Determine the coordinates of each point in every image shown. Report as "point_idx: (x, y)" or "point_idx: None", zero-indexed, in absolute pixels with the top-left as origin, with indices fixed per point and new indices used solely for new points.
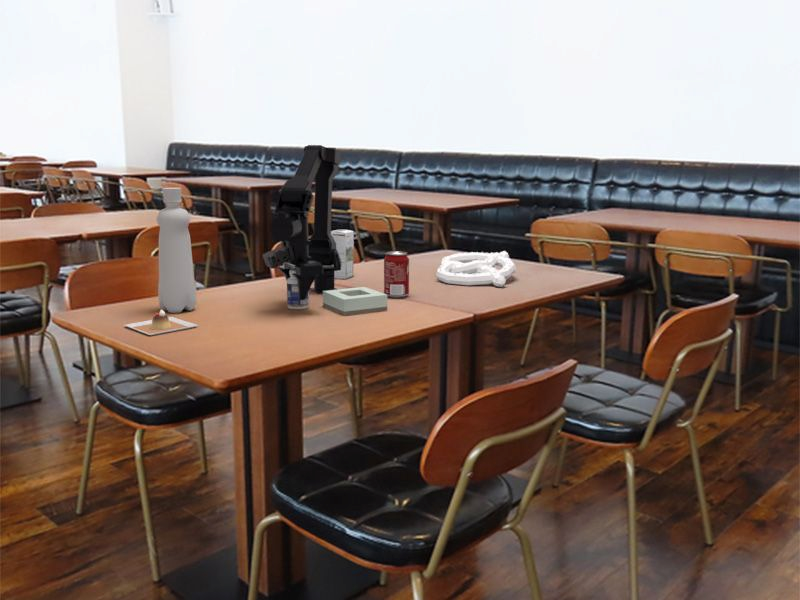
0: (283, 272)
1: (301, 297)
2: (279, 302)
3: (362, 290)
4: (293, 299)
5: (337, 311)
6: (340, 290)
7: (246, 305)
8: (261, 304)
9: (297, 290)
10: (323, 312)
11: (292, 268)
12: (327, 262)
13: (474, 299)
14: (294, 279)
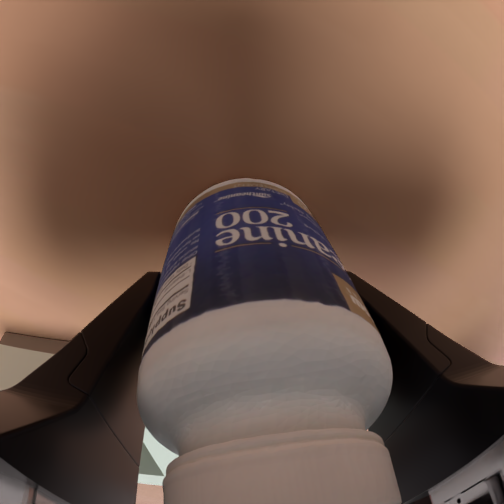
0: (497, 387)
1: (137, 284)
2: (435, 211)
3: (145, 474)
4: (187, 226)
5: (49, 343)
6: (175, 454)
7: (475, 25)
8: (458, 100)
9: (156, 308)
10: (68, 302)
11: (447, 478)
12: (420, 501)
13: (144, 499)
14: (185, 404)
